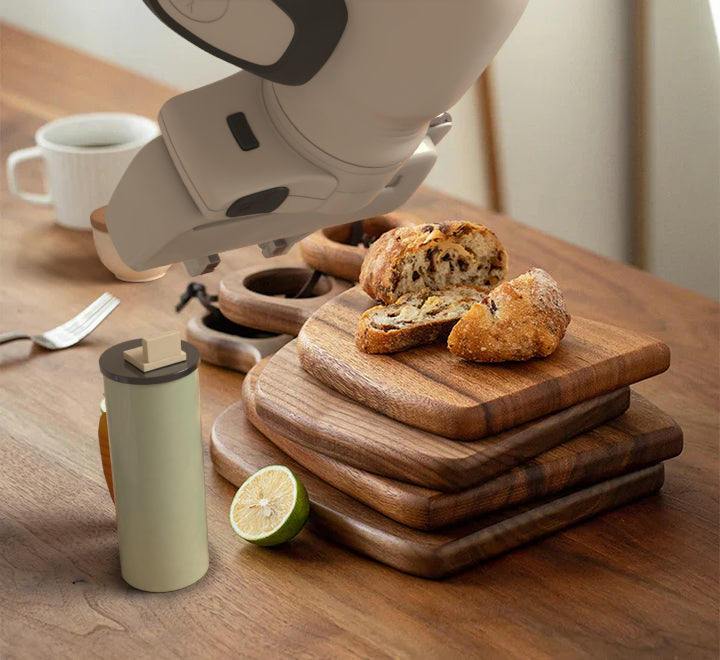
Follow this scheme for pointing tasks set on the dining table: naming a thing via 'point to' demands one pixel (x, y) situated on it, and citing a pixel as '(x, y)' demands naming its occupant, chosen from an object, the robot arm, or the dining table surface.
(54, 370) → the dining table surface
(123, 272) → the lidded bowl
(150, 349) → the cup slider
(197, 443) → the travel cup
